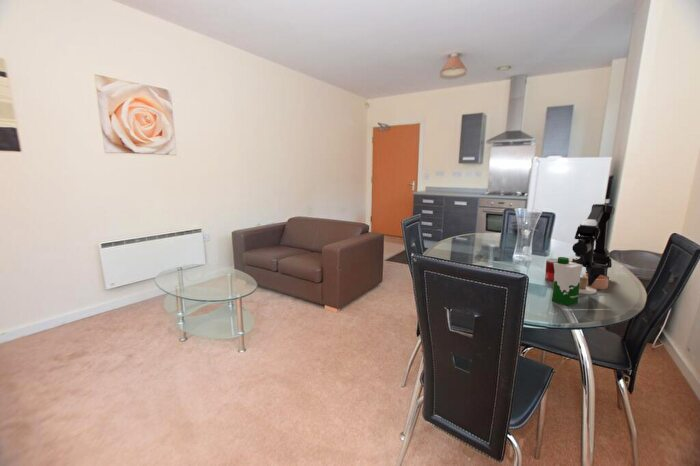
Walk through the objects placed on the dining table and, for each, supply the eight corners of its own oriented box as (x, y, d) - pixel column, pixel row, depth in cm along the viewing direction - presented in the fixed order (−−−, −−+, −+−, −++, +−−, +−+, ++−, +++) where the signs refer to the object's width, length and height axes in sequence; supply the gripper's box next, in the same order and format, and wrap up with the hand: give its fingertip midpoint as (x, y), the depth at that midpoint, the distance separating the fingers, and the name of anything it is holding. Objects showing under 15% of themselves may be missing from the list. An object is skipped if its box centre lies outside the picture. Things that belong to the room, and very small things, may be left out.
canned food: (557, 283, 160) (558, 263, 158) (541, 279, 167) (543, 259, 165) (565, 280, 163) (567, 260, 161) (550, 276, 170) (551, 257, 168)
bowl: (597, 282, 159) (598, 273, 158) (612, 289, 149) (613, 279, 148) (577, 282, 159) (578, 273, 158) (591, 290, 149) (592, 280, 149)
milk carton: (560, 297, 143) (564, 255, 139) (581, 304, 135) (586, 260, 131) (548, 300, 139) (551, 258, 136) (568, 308, 131) (573, 263, 128)
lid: (585, 285, 154) (586, 274, 153) (602, 294, 143) (603, 282, 142) (563, 286, 154) (564, 275, 153) (577, 294, 144) (579, 282, 142)
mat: (586, 285, 155) (586, 284, 155) (608, 296, 142) (608, 295, 141) (558, 286, 156) (558, 285, 156) (576, 296, 142) (576, 296, 142)
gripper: (556, 246, 155) (553, 276, 158) (581, 256, 136) (578, 289, 139) (579, 246, 154) (576, 275, 157) (608, 255, 136) (604, 289, 139)
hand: (582, 282), depth 148 cm, fingers open, 9 cm apart
